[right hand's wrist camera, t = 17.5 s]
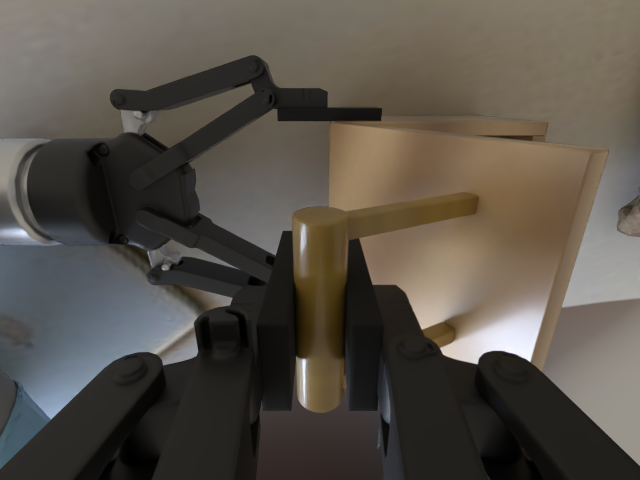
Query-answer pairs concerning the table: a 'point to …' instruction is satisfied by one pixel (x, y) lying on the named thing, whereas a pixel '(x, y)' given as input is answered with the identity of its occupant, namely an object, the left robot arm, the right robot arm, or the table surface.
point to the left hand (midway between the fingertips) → (373, 193)
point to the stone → (630, 218)
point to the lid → (441, 242)
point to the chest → (466, 125)
